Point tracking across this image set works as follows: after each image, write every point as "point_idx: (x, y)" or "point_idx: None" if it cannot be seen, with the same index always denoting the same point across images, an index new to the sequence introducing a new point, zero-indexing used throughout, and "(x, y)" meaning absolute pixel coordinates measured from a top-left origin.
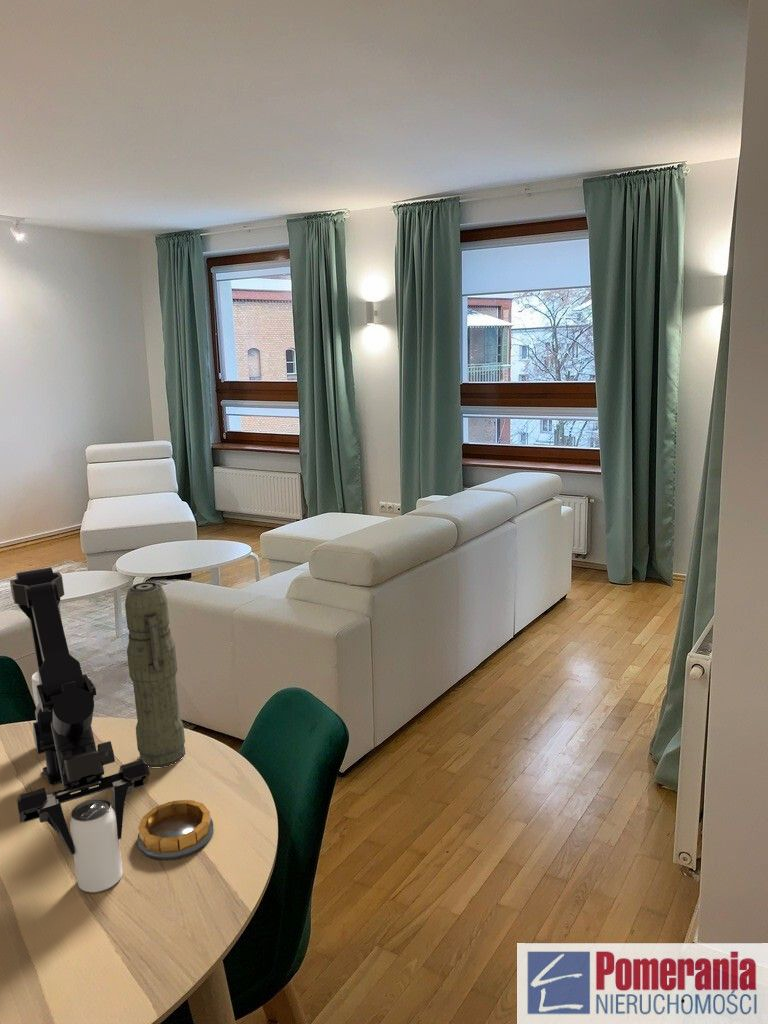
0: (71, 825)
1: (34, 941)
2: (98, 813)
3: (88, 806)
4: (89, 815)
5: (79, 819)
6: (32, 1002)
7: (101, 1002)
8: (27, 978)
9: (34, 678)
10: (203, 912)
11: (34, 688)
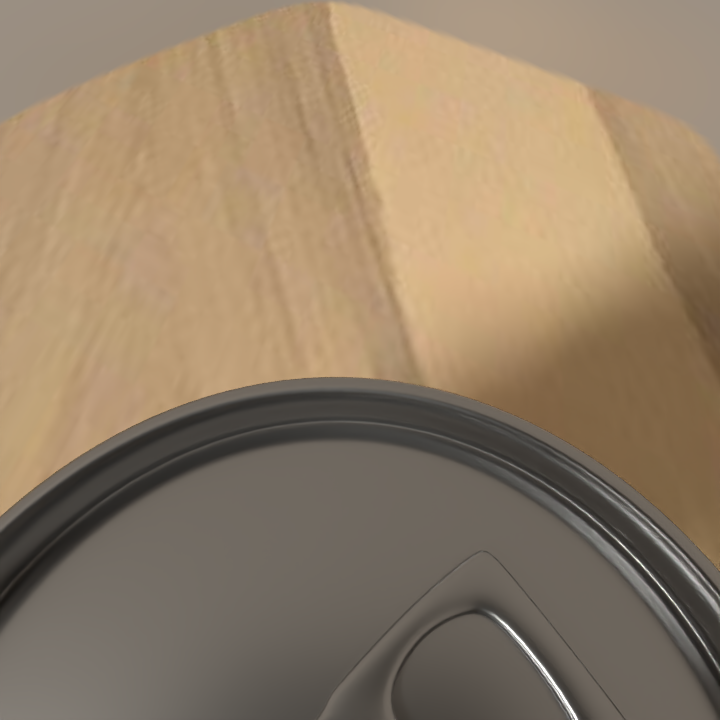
0: None
1: (688, 389)
2: (209, 635)
3: None
4: (407, 638)
5: (629, 628)
6: (648, 140)
7: (451, 67)
8: (681, 226)
9: None
10: (48, 218)
11: None
